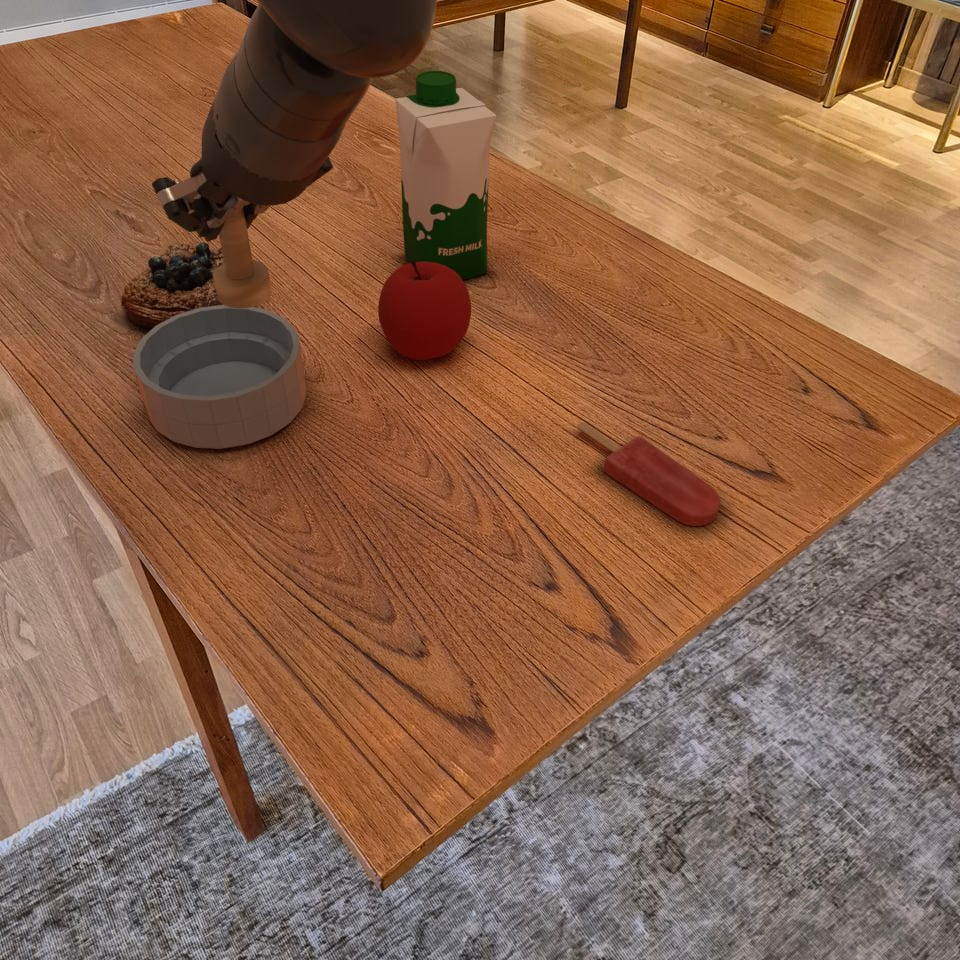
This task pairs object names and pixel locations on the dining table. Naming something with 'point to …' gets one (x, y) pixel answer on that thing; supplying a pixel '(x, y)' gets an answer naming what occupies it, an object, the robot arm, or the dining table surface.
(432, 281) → the apple
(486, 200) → the milk carton
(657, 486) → the popsicle
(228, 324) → the bowl
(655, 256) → the dining table surface
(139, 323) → the pastry
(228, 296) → the peg on round base
